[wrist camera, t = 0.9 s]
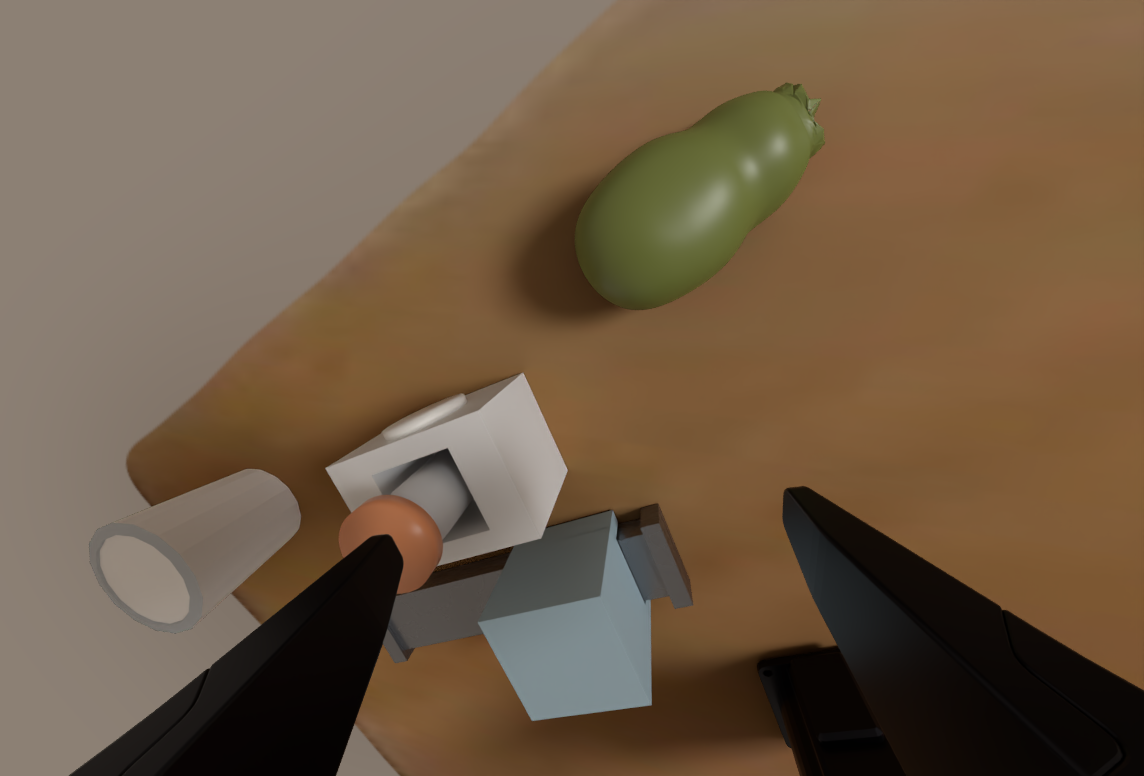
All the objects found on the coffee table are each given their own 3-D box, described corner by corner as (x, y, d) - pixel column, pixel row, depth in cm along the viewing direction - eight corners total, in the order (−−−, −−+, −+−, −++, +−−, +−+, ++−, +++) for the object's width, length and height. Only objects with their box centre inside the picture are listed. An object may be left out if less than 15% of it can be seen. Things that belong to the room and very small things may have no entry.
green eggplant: (539, 208, 14) (799, -6, 12) (553, 237, 19) (737, 89, 18) (635, 341, 14) (892, 153, 13) (623, 333, 20) (806, 198, 18)
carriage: (650, 596, 24) (651, 705, 18) (558, 615, 25) (531, 721, 20) (612, 510, 23) (600, 596, 17) (519, 535, 24) (477, 622, 18)
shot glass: (307, 473, 26) (191, 544, 19) (311, 560, 28) (208, 650, 22) (214, 449, 27) (72, 509, 20) (224, 535, 29) (99, 615, 22)
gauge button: (504, 493, 20) (449, 582, 14) (444, 512, 21) (370, 602, 15) (472, 428, 19) (401, 495, 14) (411, 451, 20) (320, 521, 15)
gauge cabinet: (567, 470, 23) (541, 538, 17) (448, 507, 25) (390, 578, 19) (519, 365, 21) (473, 400, 16) (399, 413, 23) (320, 460, 18)
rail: (689, 580, 23) (693, 605, 22) (410, 639, 29) (395, 663, 27) (658, 503, 22) (659, 523, 21) (374, 579, 28) (356, 600, 26)
